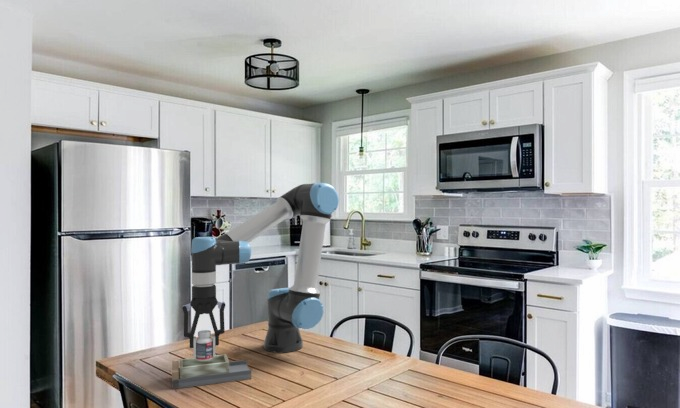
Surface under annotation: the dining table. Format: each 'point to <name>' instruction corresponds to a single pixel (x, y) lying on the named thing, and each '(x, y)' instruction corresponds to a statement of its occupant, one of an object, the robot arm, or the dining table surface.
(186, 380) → the rail board
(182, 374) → the caddy
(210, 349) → the pill bottle
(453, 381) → the dining table surface
